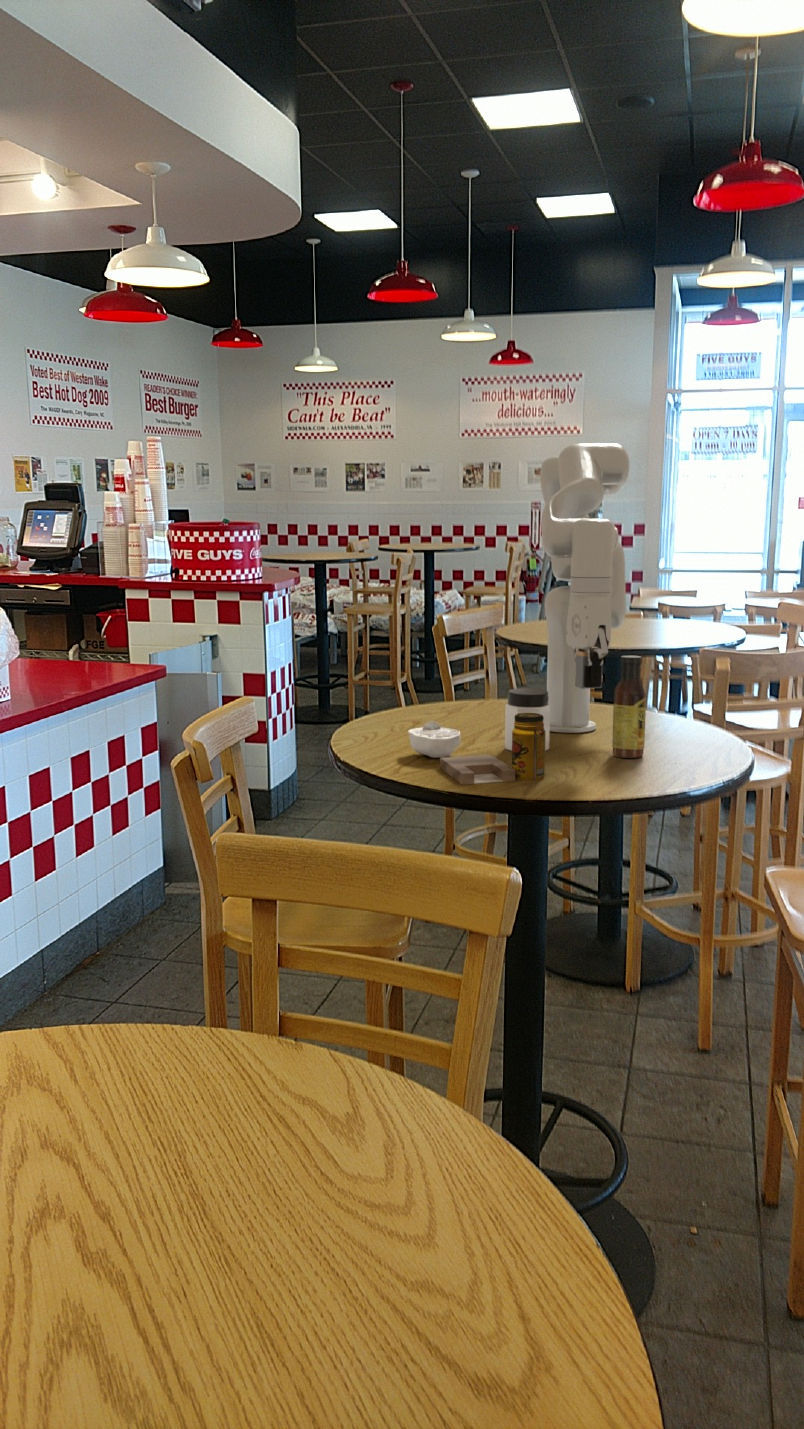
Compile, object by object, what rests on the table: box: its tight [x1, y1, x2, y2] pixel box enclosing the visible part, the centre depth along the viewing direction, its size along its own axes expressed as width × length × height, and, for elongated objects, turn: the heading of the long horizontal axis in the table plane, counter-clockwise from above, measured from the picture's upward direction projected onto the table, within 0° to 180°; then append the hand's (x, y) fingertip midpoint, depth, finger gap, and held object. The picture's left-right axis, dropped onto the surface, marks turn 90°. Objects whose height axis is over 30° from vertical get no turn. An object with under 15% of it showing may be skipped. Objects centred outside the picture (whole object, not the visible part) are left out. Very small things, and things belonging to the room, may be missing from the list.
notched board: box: [439, 754, 516, 786], centre depth 196 cm, size 13×10×2 cm
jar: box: [504, 687, 550, 752], centre depth 216 cm, size 9×8×12 cm
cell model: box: [407, 720, 462, 759], centre depth 211 cm, size 10×12×7 cm
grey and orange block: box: [575, 650, 603, 689], centre depth 200 cm, size 3×4×7 cm
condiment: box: [511, 713, 546, 782], centre depth 194 cm, size 7×8×12 cm
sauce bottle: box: [611, 655, 647, 759], centre depth 210 cm, size 7×6×20 cm
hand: (588, 684), depth 200 cm, fingers closed on grey and orange block, 3 cm apart
